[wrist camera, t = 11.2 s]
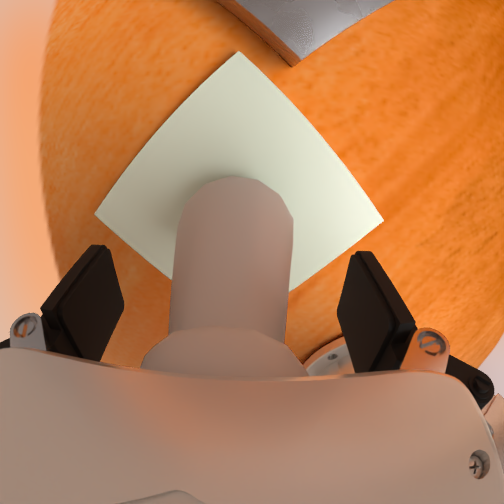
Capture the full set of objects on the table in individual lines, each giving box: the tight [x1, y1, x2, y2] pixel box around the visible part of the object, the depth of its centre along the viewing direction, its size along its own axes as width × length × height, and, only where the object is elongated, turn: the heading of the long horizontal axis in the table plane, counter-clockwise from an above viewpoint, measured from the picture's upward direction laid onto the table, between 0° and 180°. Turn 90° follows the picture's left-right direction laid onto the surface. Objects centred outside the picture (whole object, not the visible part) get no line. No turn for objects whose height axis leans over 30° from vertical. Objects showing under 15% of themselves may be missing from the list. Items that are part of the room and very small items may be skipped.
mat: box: [94, 51, 384, 292], centre depth 16 cm, size 13×13×1 cm
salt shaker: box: [140, 176, 309, 377], centre depth 11 cm, size 6×6×13 cm
